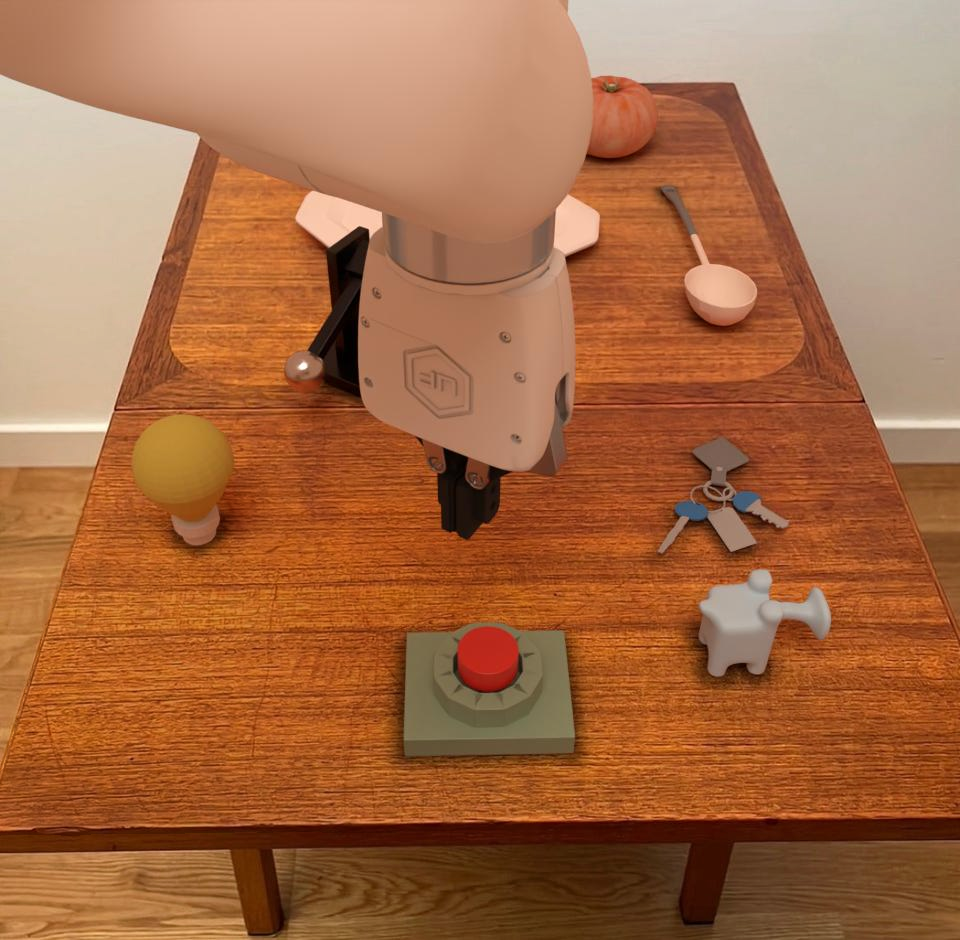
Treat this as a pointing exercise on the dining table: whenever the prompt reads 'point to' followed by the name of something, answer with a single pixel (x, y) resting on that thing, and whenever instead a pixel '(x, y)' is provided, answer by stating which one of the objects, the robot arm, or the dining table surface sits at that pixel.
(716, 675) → the figurine
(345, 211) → the plate
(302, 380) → the lever
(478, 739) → the control block
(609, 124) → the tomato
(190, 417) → the light bulb
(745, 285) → the ladle
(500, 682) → the button
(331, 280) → the switch bracket
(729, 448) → the key chain
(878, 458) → the dining table surface
